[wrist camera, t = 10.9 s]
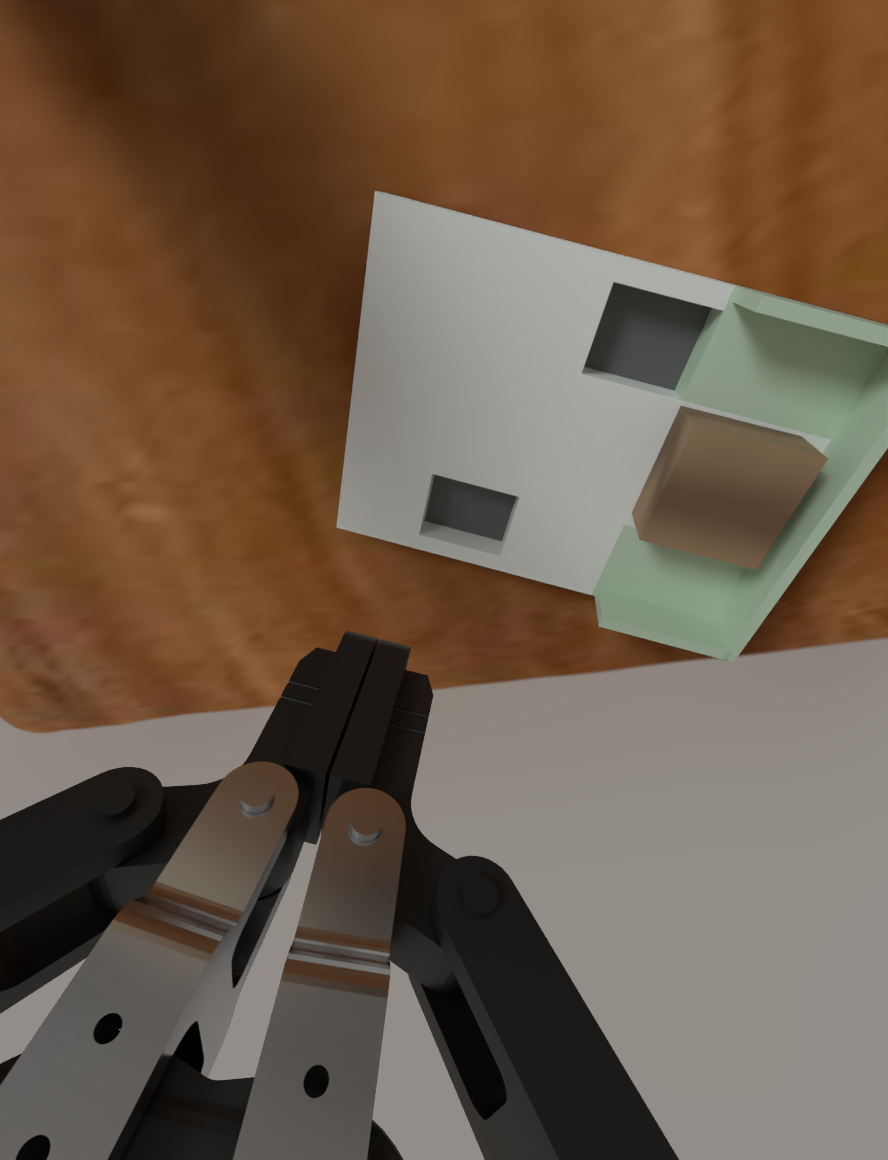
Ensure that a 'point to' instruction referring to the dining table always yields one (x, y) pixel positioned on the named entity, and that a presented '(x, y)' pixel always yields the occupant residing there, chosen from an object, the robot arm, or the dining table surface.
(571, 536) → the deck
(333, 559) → the dining table surface
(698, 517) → the block
